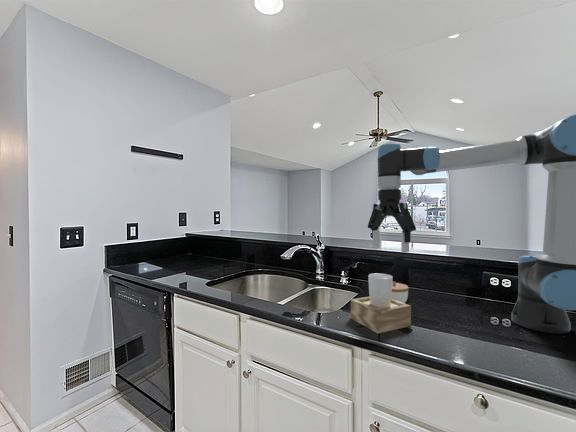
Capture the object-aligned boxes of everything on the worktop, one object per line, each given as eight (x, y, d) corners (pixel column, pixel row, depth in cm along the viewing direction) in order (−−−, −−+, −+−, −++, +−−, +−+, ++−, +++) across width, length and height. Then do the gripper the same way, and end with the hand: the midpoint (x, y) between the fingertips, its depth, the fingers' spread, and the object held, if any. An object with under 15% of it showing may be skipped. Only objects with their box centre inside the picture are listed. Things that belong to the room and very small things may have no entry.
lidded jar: (407, 302, 124) (407, 279, 124) (409, 310, 114) (409, 286, 113) (380, 299, 127) (380, 277, 127) (379, 307, 117) (379, 283, 117)
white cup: (365, 301, 106) (365, 273, 105) (386, 300, 106) (386, 273, 106) (373, 309, 98) (373, 278, 97) (396, 308, 98) (396, 278, 98)
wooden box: (410, 326, 99) (411, 305, 99) (377, 333, 93) (377, 311, 93) (381, 312, 111) (381, 294, 111) (350, 318, 106) (350, 299, 106)
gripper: (427, 186, 94) (427, 253, 95) (373, 191, 117) (373, 245, 117) (410, 186, 91) (410, 255, 91) (357, 191, 113) (358, 246, 114)
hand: (390, 250), depth 104 cm, fingers open, 13 cm apart
